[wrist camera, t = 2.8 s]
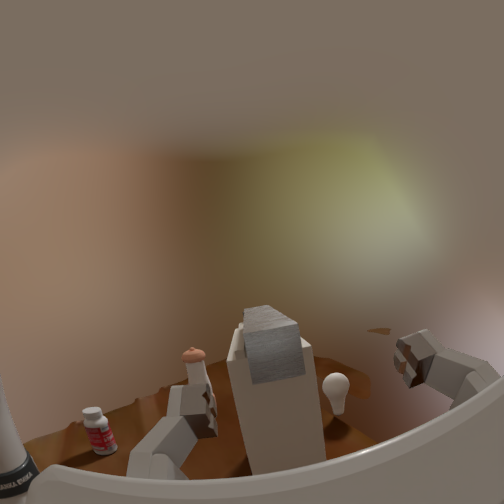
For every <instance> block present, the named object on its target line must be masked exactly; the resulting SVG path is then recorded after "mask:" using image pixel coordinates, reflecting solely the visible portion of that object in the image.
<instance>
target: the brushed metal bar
mask: <svg viewBox="0 0 504 504" xmlns="http://www.w3.org/2000/svg"><path fill="white" fill-rule="evenodd" d="M243 337H244V342H245V348H246V353H247V358H248V364H249V369H250V374H251V379H252V385H256V384H261V383H267V382H273V381H278V380H283V379H288V378H293V377H297V376H302V375H306V371H305V364H304V358H303V351H302V345H301V339H300V333H299V327H298V323H296V322H295V321H293V320H291V319H290V318H288V317H286V316H285V315H283V314H282V313H280V312H278V311H277V310H275V309H273V308H272V307H270V306H269V305H265V306H259V307H253V308H248V309H244V323H243Z"/></svg>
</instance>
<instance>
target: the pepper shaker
mask: <svg viewBox="0 0 504 504" xmlns="http://www.w3.org/2000/svg"><path fill="white" fill-rule="evenodd" d="M204 359H205V353H204V352H203V351H202V350H199V349H194V348H190V349H189V351H186V352H185V353H183V355H182V360H183V362H185V363H186V368H187V373H188V379H189V385H192V384H204V383H208V384H209V387H210V394H212V395H213V396H214V394H213V393H212V388H211V383H210V381H209V378H208V376H207V373H206V369H205V365H204ZM214 399H215V396H214ZM215 403H216V400H215ZM216 406H217V404H216Z"/></svg>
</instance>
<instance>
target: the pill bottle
mask: <svg viewBox="0 0 504 504" xmlns="http://www.w3.org/2000/svg"><path fill="white" fill-rule="evenodd" d="M83 415H84V417H85V418H86V419H85V420H84V426H85V429H86V432H87V435H88V437H89V440H90V442H91V445H92V447H93V450H94V452H95V453H97V454H99V455H109V454H112V453H114V452H115V451H116V450H117V445H116V442H115V440H114V437H113V434H112V431H111V429H110V426H109V423H108V420H107V418H106V417H104V416H102V411H101V409H100V408H99V407H90V408H86V409H84V410H83Z"/></svg>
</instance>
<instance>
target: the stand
mask: <svg viewBox="0 0 504 504" xmlns="http://www.w3.org/2000/svg"><path fill="white" fill-rule="evenodd" d="M243 317H244V312H243ZM300 339H301V345H302V351H303V358H304V364H305V371H306V375H302V376H297V377H293V378H288V379H283V380H278V381H273V382H267V383H261V384H256V385H252V379H251V374H250V369H249V364H248V358H247V353H246V348H245V342H244V337H243V323H239V328H238V329H235V332H234V336H233V339H232V343H231V347H230V351H229V354H228V358H227V366H228V371H229V376H230V381H231V385H232V390H233V395H234V399H235V404H236V409H237V413H238V417H239V422H240V426H241V431H242V435H243V439H244V443H245V447H246V451H247V456H248V460H249V464H250V467H251V471H252V475H253V476H254V475H261V474H267V473H273V472H279V471H285V470H290V469H295V468H299V467H304V466H308V465H312V464H316V463H320V462H324V461H326V455H325V445H324V436H323V427H322V419H321V410H320V403H319V396H318V388H317V380H316V373H315V366H314V359H313V352H312V346H311V345H310V344H309V343H307V342H306V341H305V340H304V339H303V338H301V337H300Z"/></svg>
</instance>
